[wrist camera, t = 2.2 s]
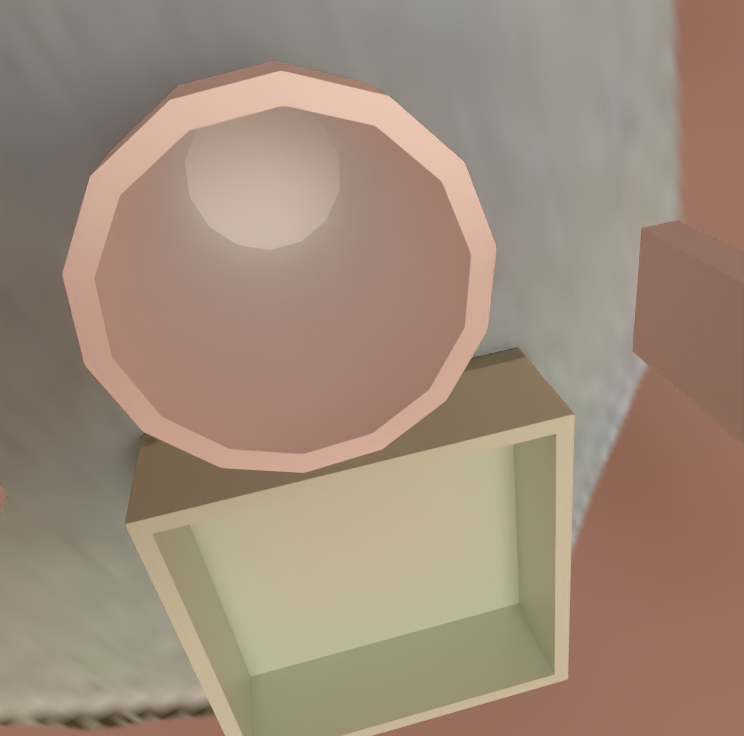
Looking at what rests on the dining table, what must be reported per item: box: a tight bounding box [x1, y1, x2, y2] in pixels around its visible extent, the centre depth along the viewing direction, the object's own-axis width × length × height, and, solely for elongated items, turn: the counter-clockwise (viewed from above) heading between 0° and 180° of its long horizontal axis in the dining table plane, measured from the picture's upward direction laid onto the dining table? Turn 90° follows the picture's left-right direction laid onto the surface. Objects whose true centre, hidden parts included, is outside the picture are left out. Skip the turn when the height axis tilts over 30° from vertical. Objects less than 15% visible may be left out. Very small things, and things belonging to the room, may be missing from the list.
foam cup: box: [62, 61, 497, 473], centre depth 20 cm, size 10×9×13 cm
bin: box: [125, 348, 574, 736], centre depth 33 cm, size 19×19×6 cm
